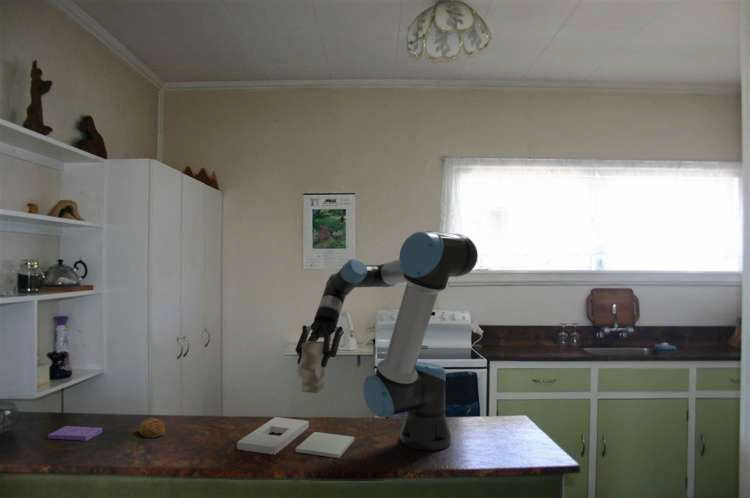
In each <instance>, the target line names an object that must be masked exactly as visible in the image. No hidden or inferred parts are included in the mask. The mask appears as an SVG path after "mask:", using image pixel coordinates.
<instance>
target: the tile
mask: <svg viewBox="0 0 750 498" xmlns="http://www.w3.org/2000/svg"><path fill="white" fill-rule="evenodd" d="M354 441H355V436H349V435H343V434H334V433H326V432H319V431H314V432H312V433H311V434H310V435H309V436H308V437H307V438H305V439H304V441H302V442H301V443H299V444H298V446H296V447H295V452H296V453H301V454H308V455H315V456H320V457H321V456H323V457H329V458H335V459H339V458H340V457H341V456H342V455H343V454H344V453H345V452H346V450H347V449H348V448H349V447H350V446H351V445H352V443H354Z"/></svg>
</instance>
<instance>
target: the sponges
mask: <svg viewBox="0 0 750 498" xmlns="http://www.w3.org/2000/svg"><path fill="white" fill-rule="evenodd" d="M102 432H103V427H88V426H72V425H65V426H63V427H61V428H59V429H58V430H56V431H54V432H51V433H49V434H48V435H47V439H52V440H53V439H55V440H57V439H58V440H67V441H84V442H86V441H88V440H90V439H92V438H94V437H96V436H98V435H99V434H102Z"/></svg>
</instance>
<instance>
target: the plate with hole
mask: <svg viewBox="0 0 750 498" xmlns="http://www.w3.org/2000/svg"><path fill="white" fill-rule="evenodd" d="M309 425H310V422H309V420H304V419H294V418H286V417H279V416H275V417H273V418H272V419H270V420H269V421H267V422H266V423H264V424H263V425H261V426H260V427H257V429H255V430H254V431H252V432H250V433H248V434H247V435H246V436H243V438H241V439H240V440H238V441H237V442H236V443H237V444H236V449H237V450H239V451H240V450H241V451H246V452H252V453H253V452H254V453H255V452H256V453H260V454H261V453H262V454H266V453H267V455H273V454H274V455H276V453H277V454H278V453H279V452H280V451H281V450H283V449H285V447H286V446H287V445H289V444H291V443H292V441H294V440H295V439H296V438H297V437H299V436H300V435H302V433H303V432H304V431H306V430H308V429H309V427H310V426H309ZM272 432H274V433H273V434H271V433H272ZM269 433H270V434H269ZM279 433H282V434H280V435H276V434H279ZM274 434H275V435H274ZM274 455H273V456H274Z"/></svg>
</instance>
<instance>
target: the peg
mask: <svg viewBox="0 0 750 498" xmlns="http://www.w3.org/2000/svg"><path fill="white" fill-rule="evenodd" d="M323 352H324V341H318V340H317V341H308V342H307V341H306V342H305V343H303V344H302V377H301V392H302V393H311V394H312V393H313V394H318V393H320V392H322V391H323V390H324V389H325V367H323V369H322V373H321V376H320V378H317V377H316V375H315V371H316V367H317V364H318V361H319V358H320V355H321V354H323V355H324V353H323Z"/></svg>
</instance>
